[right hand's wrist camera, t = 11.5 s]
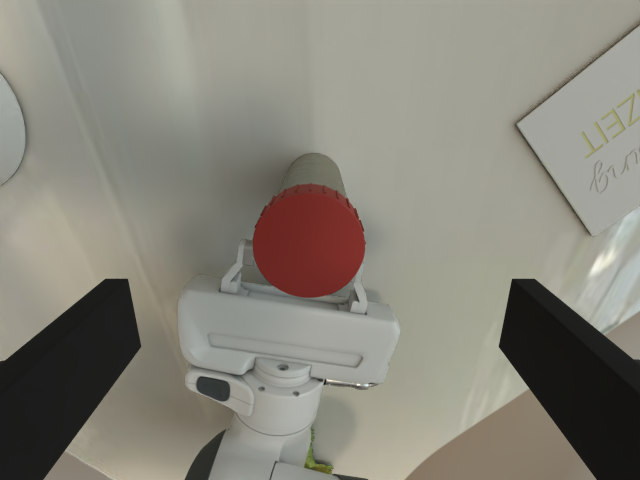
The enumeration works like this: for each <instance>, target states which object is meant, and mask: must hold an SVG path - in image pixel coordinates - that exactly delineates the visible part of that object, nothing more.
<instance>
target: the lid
mask: <svg viewBox="0 0 640 480" xmlns="http://www.w3.org/2000/svg"><path fill="white" fill-rule="evenodd" d="M255 228H256V229H255V232H254V236H253V254H254V258H255V261H256V264H257V266H258V268H259V270H260V272H261V273H262V275H263V276H264V277H265V278H266V279H267V280H268V281H269V282H270V283H271V284H272V285H273V286H274V287H276V288H277V289H279V290H281V291H283V292H285V293H287V294H290V295H293V296H297V297H303V298H316V297H322V296H326V295H329V294H332V293H334V292H336V291H338V290H340V289H341V288H343V287H344V286H345V285H347V284H348V283H349V282H350V281H351V280H352V279H353V278H354V276H355V275H356V274H357V272H358V270H359V269H360V266H361V264H362V261H363V258H364V252H365V244H366V243H365V240H364V234H363V231H364V229H363V226H362V223H361V220H359V217H358V214H357V211H356V208H355V209H354V208H353V206H352V205H351V204H350V202H349V199H348V198H345V197H344V196H343V195H341V194H340V193H338V190H336V191H335V190H333V189H331V188H329V187H326V185H324V186H322V185H317V184H312V183H310V184H302V185H299V184H297V185H296V186H293V187H290V188H288V189H286V188H285V189H284V190H283V191H282V192H281V193H279V194H278V195H277V196H273V198H272V200H271V201H270V203H269V204H268V205H267V206H265V207H264V209H263V211H262V213H261V217H260V218H259V220H258V222H257V224H256V225H255Z"/></svg>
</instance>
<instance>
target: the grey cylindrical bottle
mask: <svg viewBox="0 0 640 480" xmlns="http://www.w3.org/2000/svg"><path fill="white" fill-rule="evenodd" d="M310 183H312V184H317V185H322V186H324V185H326V187H329V188H331V189H333V190H335V191H336V190H338V193H340V194H341V195H343V196H344V197H345V198H347V196H346V192H345V189H344V185H343V182H342V178H341V174H340V171H339V169H338V167H337V165H336V164H335V163H334V161H332V160H331V159H330V158H329V157H327V156H325V155H322V154H318V153H310V154H306V155H303V156H301V157H299V158H298V159H297V160H296V161H295V162H294V163H293V164H292V165H291V167H290V169H289V171H288V173H287V175H286V178H285V180H284V182H283V184H282V186H281V188H280V191H279V193H281V192H282V191H283V190H284V189H285V188H286V189H288V188H290V187H293V186H296V185H297V184H299V185H302V184H310ZM279 193H278V194H279Z"/></svg>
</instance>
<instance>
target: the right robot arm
mask: <svg viewBox="0 0 640 480" xmlns="http://www.w3.org/2000/svg"><path fill="white" fill-rule="evenodd" d="M140 348H141V343H140V338H139V333H138V328H137V323H136V318H135V313H134V308H133V302H132V297H131V292H130V287H129V282H128V279H105V280H103V281H102V282H101V283H100V284H99V285H97V286H96V287H95V288H94V289H92V290H91V291H90V292H89V293H87V294H86V295H85V296H84V297H83V298H81V299H80V300H79V301H78V302H76V303H75V304H74V305H73V306H72V307H70V308H69V309H68V310H67V311H65V312H64V313H63V314H62V315H60V316H59V317H58V318H57V319H56V320H54V321H53V322H52V323H51V324H49V325H48V326H47V327H46V328H45V329H43V330H42V331H41V332H40V333H38V334H37V335H36V336H35V337H33V338H32V339H31V340H30V341H29V342H27V343H26V344H25V345H24V346H22V347H21V348H20V349H19V350H18V351H16V352H15V353H14V354H13V355H11V356H10V357H9V358H8V359H6V360H5V361H0V480H43V479H44V478H45V477H46V475H47V474H48V472H49V471H50V470H51V468H52V467H53V466H54V464H55V463H56V462H57V460H58V459H59V458H60V456H61V455H62V454H63V452H64V451H65V449H66V448H67V447H68V445H69V444H70V443H71V441H72V440H73V439H74V437H75V436H76V435H77V433H78V432H79V430H80V429H81V428H82V426H83V425H84V424H85V422H86V421H87V420H88V418H89V417H90V416H91V414H92V413H93V411H94V410H95V409H96V407H97V406H98V405H99V403H100V402H101V401H102V399H103V398H104V397H105V395H106V394H107V392H108V391H109V390H110V388H111V387H112V386H113V384H114V383H115V382H116V380H117V379H118V378H119V376H120V375H121V373H122V372H123V371H124V369H125V368H126V367H127V365H128V364H129V363H130V361H131V360H132V359H133V357H134V356H135V354H136V353H137V352H138V350H139V349H140ZM499 348H500V349H501V350H502V352H503V353H504V354H505V356H506V357H507V359H508V360H509V361H510V363H511V364H512V365H513V367H514V368H515V369H516V371H517V372H518V373H519V375H520V376H521V378H522V379H523V380H524V382H525V383H526V384H527V386H528V387H529V388H530V390H531V391H532V392H533V394H534V395H535V397H536V398H537V399H538V401H539V402H540V403H541V405H542V406H543V407H544V409H545V410H546V411H547V413H548V414H549V416H550V417H551V418H552V420H553V421H554V422H555V424H556V425H557V426H558V428H559V429H560V430H561V432H562V433H563V434H564V436H565V437H566V439H567V440H568V441H569V443H570V444H571V445H572V447H573V448H574V449H575V451H576V452H577V453H578V455H579V456H580V458H581V459H582V460H583V462H584V463H585V464H586V466H587V467H588V468H589V470H590V471H591V472H592V474H593V475H594V476H595V478H596V479H597V480H640V360H634V359H632V358H631V357H630V356H629V355H627V354H626V353H625V352H624V351H622V350H621V349H620V348H619V347H618V346H616V345H615V344H614V343H613V342H611V341H610V340H609V339H608V338H607V337H605V336H604V335H603V334H602V333H600V332H599V331H598V330H597V329H595V328H594V327H593V326H592V325H591V324H589V323H588V322H587V321H586V320H584V319H583V318H582V317H581V316H580V315H578V314H577V313H576V312H575V311H573V310H572V309H571V308H570V307H568V306H567V305H566V304H565V303H564V302H562V301H561V300H560V299H559V298H557V297H556V296H555V295H554V294H553V293H551V292H550V291H549V290H548V289H546V288H545V287H544V286H543V285H541V284H540V283H539V282H538V281H537V280H535V279H512V282H511V287H510V292H509V297H508V302H507V308H506V313H505V318H504V323H503V328H502V333H501V338H500V343H499Z"/></svg>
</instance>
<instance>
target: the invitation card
mask: <svg viewBox="0 0 640 480" xmlns="http://www.w3.org/2000/svg"><path fill="white" fill-rule="evenodd" d="M516 125H517V127H518V128H519V130H520V131H521V133H522V134H523V136H524V137H525V139H526V140H527V142H528V143H529V145H530V146H531V147H532V149H533V150H534V152H535V153H536V155H537V156H538V158H539V159H540V161H541V162H542V164H543V165H544V167H545V168H546V170H547V171H548V172H549V174H550V175H551V177H552V178H553V180H554V181H555V183H556V184H557V186H558V187H559V189H560V190H561V192H562V193H563V194H564V196H565V197H566V199H567V200H568V202H569V203H570V205H571V206H572V208H573V209H574V211H575V212H576V214H577V215H578V217H579V218H580V219H581V221H582V222H583V224H584V225H585V227H586V228H587V230H588V231H589V233H590V234H591V236H592V237H595V236H596V235H598V234H599V233H601V232H602V231H604V230H605V229H606V228H608V227H609V226H611V225H612V224H614V223H615V222H617V221H618V220H620V219H621V218H623V217H624V216H625V215H627V214H628V213H630V212H631V211H633V210H634V209H636V208H637V207H639V206H640V25H639V26H637V27H636V28H635V29H634V30H632V31H631V32H630V33H629V34H627V35H626V36H625V37H624V38H622V39H621V40H620V41H619V42H617V43H616V44H615V45H614V46H612V47H611V48H610V49H609V50H608V51H606V52H605V53H604V54H603V55H601V56H600V57H599V58H598V59H596V60H595V61H594V62H593V63H591V64H590V65H589V66H588V67H586V68H585V69H584V70H583V71H581V72H580V73H579V74H578V75H576V76H575V77H574V78H573V79H571V80H570V81H569V82H568V83H566V84H565V85H564V86H563V87H561V88H560V89H559V90H558V91H556V92H555V93H554V94H553V95H551V96H550V97H549V98H548V99H547V100H545V101H544V102H543V103H542V104H540V105H539V106H538V107H537V108H535V109H534V110H533V111H532V112H530V113H529V114H528V115H527V116H525V117H524V118H523V119H522V120H520V121H519V122H518V123H517V124H516Z"/></svg>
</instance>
